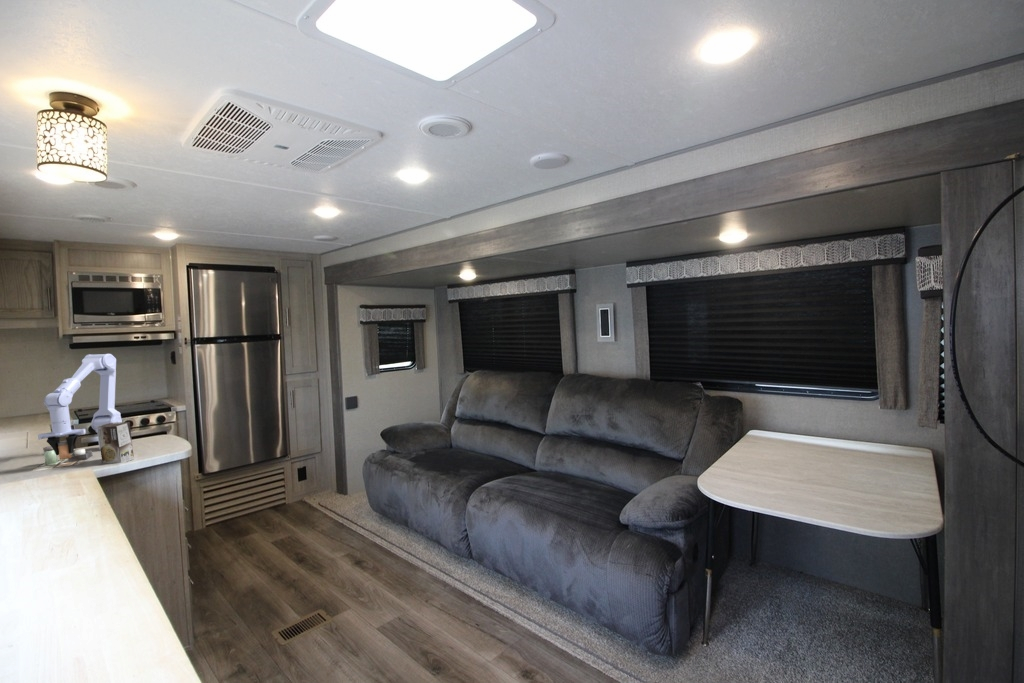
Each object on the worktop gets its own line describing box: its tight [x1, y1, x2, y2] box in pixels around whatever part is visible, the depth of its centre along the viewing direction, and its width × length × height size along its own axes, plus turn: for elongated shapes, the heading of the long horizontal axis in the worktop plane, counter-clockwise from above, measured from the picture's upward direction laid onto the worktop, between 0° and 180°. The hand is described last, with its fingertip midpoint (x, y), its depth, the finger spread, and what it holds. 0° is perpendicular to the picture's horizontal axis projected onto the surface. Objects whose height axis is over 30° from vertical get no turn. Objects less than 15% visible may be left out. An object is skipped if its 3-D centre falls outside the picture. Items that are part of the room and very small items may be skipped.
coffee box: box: [97, 421, 135, 464], centre depth 200 cm, size 9×6×16 cm
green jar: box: [42, 445, 58, 465], centre depth 199 cm, size 4×4×7 cm
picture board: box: [31, 450, 93, 472], centre depth 199 cm, size 16×13×3 cm
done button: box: [73, 448, 86, 455], centre depth 204 cm, size 3×3×3 cm
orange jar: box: [57, 439, 72, 460], centre depth 197 cm, size 4×4×7 cm
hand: (64, 453), depth 197 cm, fingers closed on orange jar, 4 cm apart
